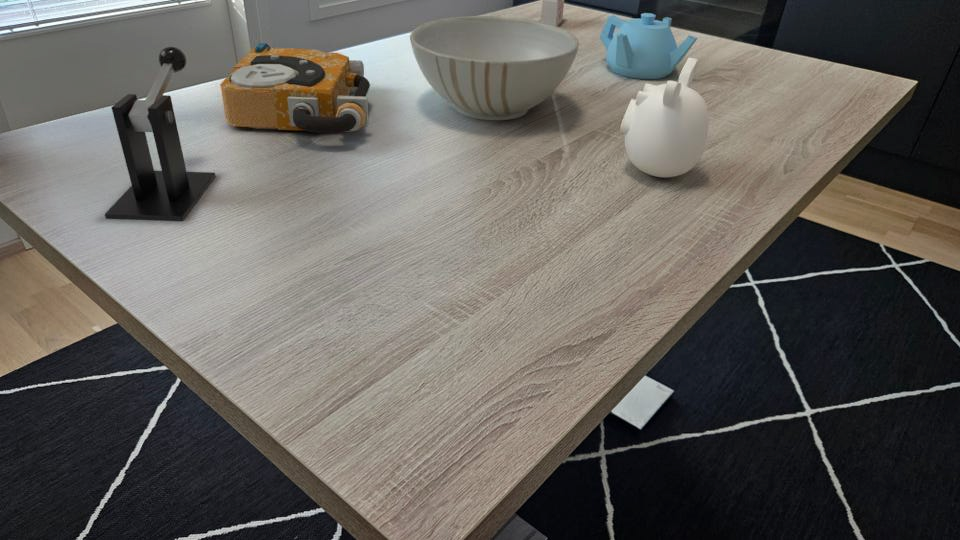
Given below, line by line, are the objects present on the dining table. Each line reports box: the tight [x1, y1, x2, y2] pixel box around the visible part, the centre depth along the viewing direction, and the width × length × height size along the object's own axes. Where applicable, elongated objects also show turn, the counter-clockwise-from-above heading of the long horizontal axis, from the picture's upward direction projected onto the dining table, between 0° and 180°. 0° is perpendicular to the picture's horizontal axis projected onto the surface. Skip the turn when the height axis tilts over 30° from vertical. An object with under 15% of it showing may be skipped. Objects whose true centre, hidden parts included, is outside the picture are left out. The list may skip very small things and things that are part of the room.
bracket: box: [104, 93, 216, 222], centre depth 84 cm, size 12×9×13 cm
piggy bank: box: [619, 56, 709, 178], centre depth 95 cm, size 12×12×15 cm
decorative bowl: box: [409, 15, 580, 121], centre depth 115 cm, size 27×27×12 cm
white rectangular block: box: [540, 0, 565, 27], centre depth 165 cm, size 4×7×10 cm, turn 161°
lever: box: [128, 46, 187, 133], centre depth 85 cm, size 14×3×3 cm, turn 0°
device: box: [219, 42, 371, 135], centre depth 110 cm, size 23×8×30 cm
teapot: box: [598, 12, 698, 80], centre depth 137 cm, size 15×15×11 cm
